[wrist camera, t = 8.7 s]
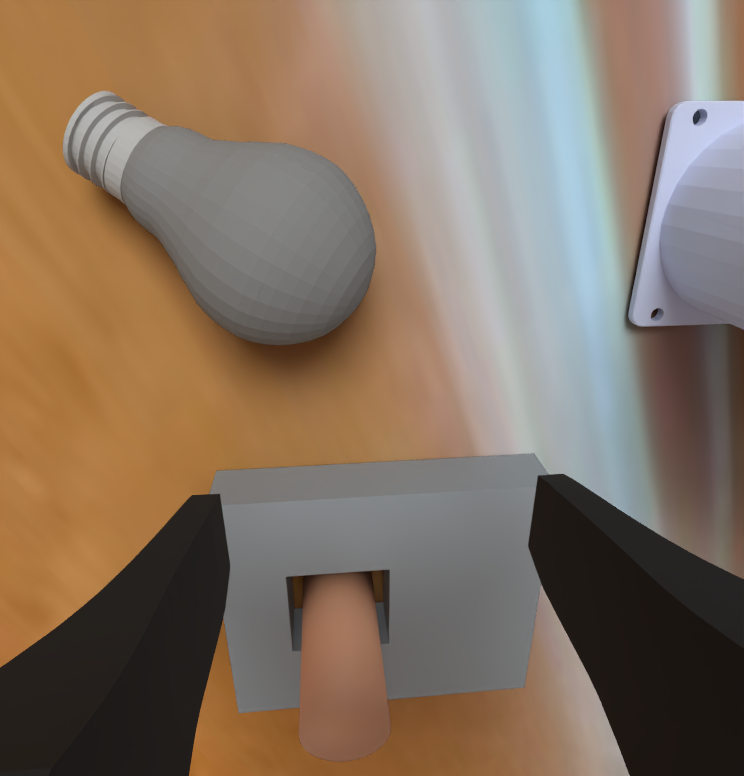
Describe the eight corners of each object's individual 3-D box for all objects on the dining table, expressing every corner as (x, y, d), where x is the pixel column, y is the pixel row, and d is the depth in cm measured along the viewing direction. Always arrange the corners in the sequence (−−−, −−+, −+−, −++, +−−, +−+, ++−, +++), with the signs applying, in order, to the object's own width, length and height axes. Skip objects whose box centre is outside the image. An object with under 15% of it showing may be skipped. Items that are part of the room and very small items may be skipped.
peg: (357, 533, 26) (374, 689, 18) (379, 581, 27) (402, 745, 20) (293, 555, 26) (284, 718, 18) (318, 602, 27) (318, 771, 20)
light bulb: (119, -28, 15) (434, 174, 15) (157, 127, 20) (386, 271, 21) (-42, 120, 13) (323, 346, 13) (50, 245, 19) (303, 400, 19)
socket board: (534, 453, 25) (556, 485, 22) (508, 645, 30) (524, 687, 27) (216, 470, 23) (205, 506, 21) (245, 667, 28) (238, 713, 26)
